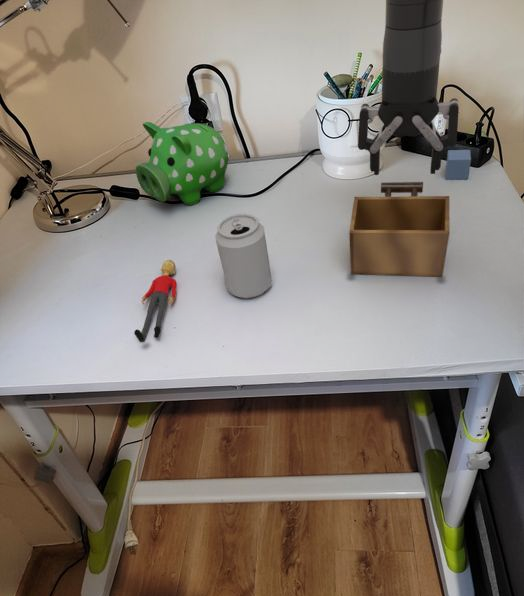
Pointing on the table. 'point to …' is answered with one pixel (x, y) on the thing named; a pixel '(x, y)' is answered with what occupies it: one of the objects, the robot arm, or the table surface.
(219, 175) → the piggy bank
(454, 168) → the slate blue cube
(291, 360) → the table surface
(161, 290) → the person figure
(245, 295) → the can
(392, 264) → the drawer
